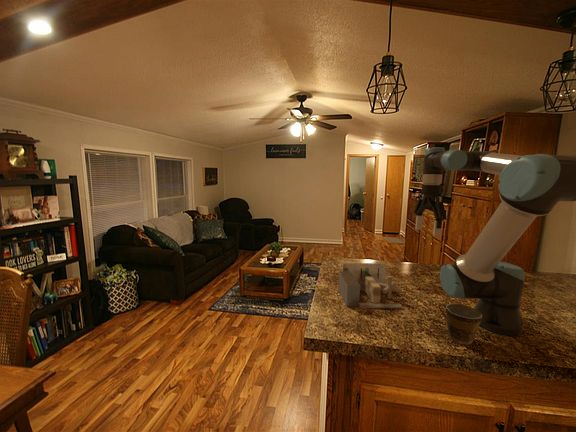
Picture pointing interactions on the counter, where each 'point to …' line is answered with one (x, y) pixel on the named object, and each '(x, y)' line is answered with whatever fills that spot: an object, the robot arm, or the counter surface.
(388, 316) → the counter surface
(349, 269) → the gauge frame
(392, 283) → the pipe connector
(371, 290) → the gauge pad
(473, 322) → the ceramic cup
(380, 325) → the counter surface
